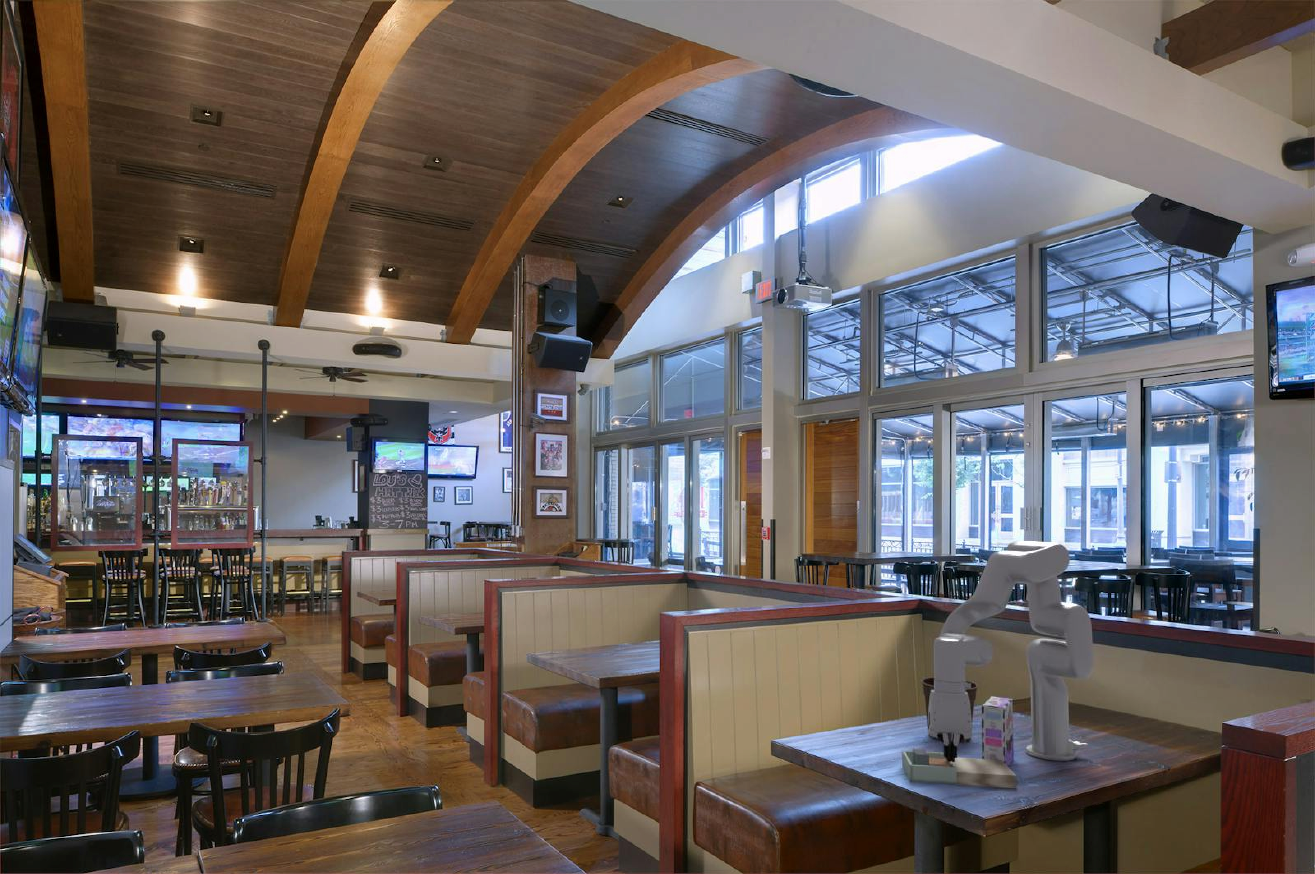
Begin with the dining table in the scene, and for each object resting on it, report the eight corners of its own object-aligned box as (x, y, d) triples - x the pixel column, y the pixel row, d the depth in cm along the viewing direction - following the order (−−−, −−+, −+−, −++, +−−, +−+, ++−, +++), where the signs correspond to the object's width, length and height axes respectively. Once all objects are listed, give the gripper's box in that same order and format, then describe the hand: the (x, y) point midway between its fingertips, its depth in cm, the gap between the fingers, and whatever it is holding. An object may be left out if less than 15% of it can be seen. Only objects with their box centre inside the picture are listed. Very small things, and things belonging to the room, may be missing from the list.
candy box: (1005, 772, 217) (1004, 707, 218) (981, 768, 220) (980, 704, 221) (1014, 759, 229) (1013, 697, 230) (991, 755, 232) (990, 694, 233)
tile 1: (924, 749, 217) (912, 748, 217) (928, 754, 212) (916, 754, 212) (924, 769, 216) (912, 768, 217) (929, 775, 211) (916, 774, 212)
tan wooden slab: (1001, 771, 217) (1001, 759, 218) (1016, 787, 205) (1015, 775, 205) (945, 768, 219) (945, 756, 220) (956, 784, 206) (956, 771, 207)
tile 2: (945, 770, 215) (945, 758, 216) (950, 776, 210) (950, 764, 211) (925, 769, 216) (925, 757, 216) (929, 775, 211) (929, 763, 211)
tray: (945, 768, 219) (945, 752, 220) (956, 784, 206) (956, 767, 207) (902, 765, 221) (902, 750, 221) (910, 781, 208) (910, 765, 208)
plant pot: (987, 746, 242) (986, 688, 243) (930, 744, 242) (930, 687, 243) (967, 731, 258) (967, 677, 259) (914, 729, 258) (914, 676, 260)
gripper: (976, 684, 218) (977, 757, 216) (916, 682, 219) (917, 754, 218) (983, 691, 210) (984, 766, 209) (922, 688, 212) (922, 763, 210)
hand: (950, 760), depth 213 cm, fingers closed
